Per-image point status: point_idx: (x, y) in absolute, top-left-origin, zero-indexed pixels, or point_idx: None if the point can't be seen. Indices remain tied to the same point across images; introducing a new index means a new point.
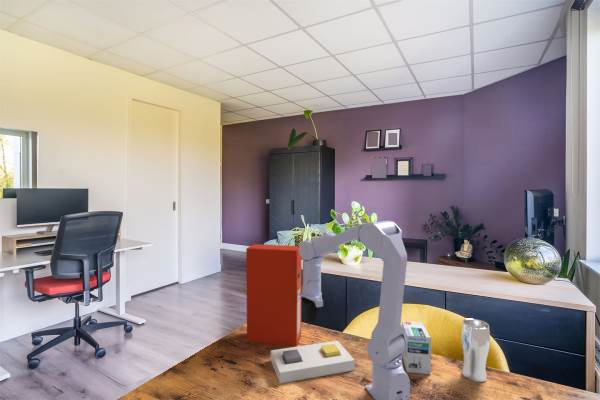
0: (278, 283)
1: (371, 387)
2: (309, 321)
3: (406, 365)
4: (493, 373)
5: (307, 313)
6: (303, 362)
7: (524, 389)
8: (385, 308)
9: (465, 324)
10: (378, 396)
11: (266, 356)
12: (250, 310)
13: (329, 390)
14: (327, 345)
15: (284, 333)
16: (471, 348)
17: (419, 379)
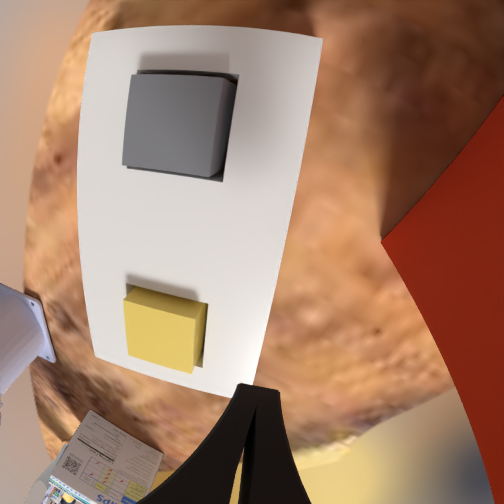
0: None
1: (32, 309)
2: (234, 392)
3: (91, 421)
4: None
5: (219, 449)
6: (118, 166)
7: (53, 450)
8: None
9: None
10: (1, 295)
11: (366, 50)
12: None
13: (41, 203)
14: (187, 345)
15: (454, 210)
16: (41, 478)
17: (68, 403)
